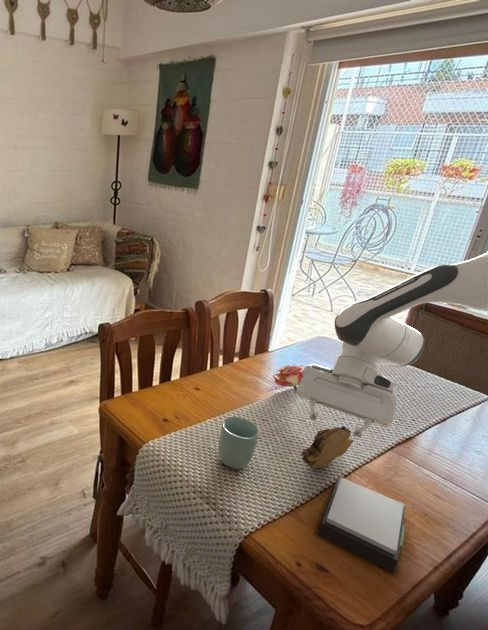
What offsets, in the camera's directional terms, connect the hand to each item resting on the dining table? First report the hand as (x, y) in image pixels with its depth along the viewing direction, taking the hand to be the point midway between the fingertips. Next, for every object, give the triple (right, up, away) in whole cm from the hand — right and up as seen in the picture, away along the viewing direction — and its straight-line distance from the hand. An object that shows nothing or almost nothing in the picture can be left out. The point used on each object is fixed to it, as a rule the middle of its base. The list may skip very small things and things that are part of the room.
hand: (333, 427), depth 104 cm
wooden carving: (-3, -8, -1) cm, 9 cm away
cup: (-25, -8, -1) cm, 26 cm away
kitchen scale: (-5, -15, -17) cm, 23 cm away
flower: (+4, +5, +30) cm, 31 cm away
